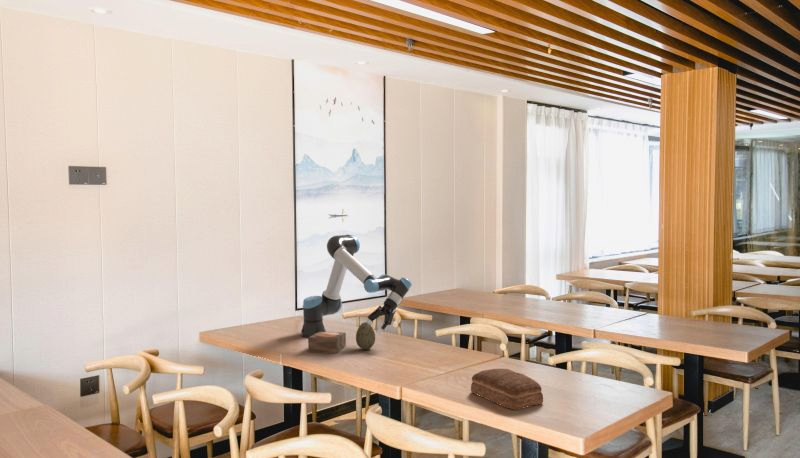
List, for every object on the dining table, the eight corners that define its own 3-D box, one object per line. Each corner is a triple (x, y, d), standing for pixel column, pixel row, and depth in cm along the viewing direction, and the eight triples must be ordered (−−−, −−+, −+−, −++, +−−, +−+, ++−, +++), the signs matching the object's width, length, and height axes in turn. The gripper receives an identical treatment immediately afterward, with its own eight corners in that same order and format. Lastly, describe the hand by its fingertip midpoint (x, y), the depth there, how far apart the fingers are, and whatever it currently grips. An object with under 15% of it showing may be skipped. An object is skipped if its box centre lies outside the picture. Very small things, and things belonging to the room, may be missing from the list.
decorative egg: (352, 349, 353) (351, 322, 353) (367, 346, 361) (366, 319, 360) (364, 352, 345) (363, 325, 345) (379, 349, 353) (379, 322, 352)
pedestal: (319, 345, 364) (318, 330, 364) (345, 346, 360) (345, 332, 360) (308, 352, 349) (308, 337, 348) (336, 353, 345) (335, 338, 344)
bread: (499, 386, 281) (499, 361, 280) (546, 405, 255) (545, 376, 254) (468, 393, 272) (467, 366, 272) (512, 412, 247) (512, 383, 246)
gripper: (409, 308, 353) (388, 339, 345) (383, 303, 373) (363, 332, 365) (401, 300, 350) (379, 331, 342) (376, 295, 370) (354, 324, 362)
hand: (371, 331), depth 353 cm, fingers open, 13 cm apart
